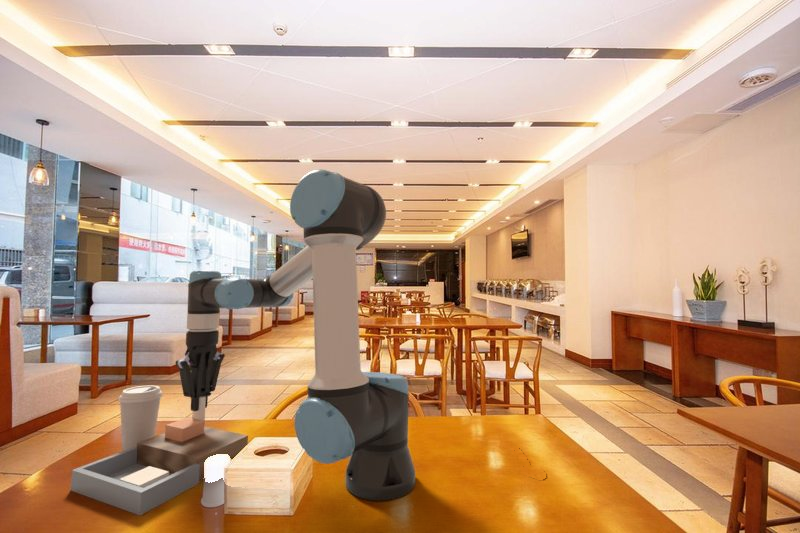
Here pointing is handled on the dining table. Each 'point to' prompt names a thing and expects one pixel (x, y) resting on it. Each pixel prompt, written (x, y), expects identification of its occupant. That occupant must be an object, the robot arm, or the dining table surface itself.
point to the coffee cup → (139, 414)
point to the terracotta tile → (184, 429)
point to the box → (107, 488)
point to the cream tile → (145, 476)
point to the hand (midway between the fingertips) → (198, 422)
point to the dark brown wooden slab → (189, 450)
